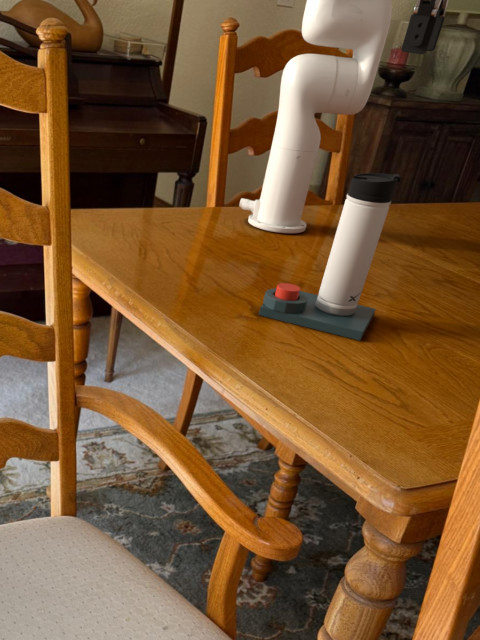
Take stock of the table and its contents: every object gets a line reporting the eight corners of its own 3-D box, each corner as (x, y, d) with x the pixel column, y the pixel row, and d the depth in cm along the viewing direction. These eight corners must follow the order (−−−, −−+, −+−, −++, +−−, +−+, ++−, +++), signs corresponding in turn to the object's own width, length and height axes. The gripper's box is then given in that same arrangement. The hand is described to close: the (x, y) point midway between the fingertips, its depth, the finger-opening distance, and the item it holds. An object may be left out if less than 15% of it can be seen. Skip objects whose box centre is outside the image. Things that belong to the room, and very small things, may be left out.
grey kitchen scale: (256, 315, 114) (261, 296, 113) (276, 293, 123) (281, 276, 121) (359, 341, 109) (366, 322, 107) (373, 317, 118) (379, 299, 116)
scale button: (271, 298, 113) (274, 287, 112) (277, 292, 116) (280, 281, 115) (294, 304, 112) (297, 292, 111) (299, 297, 115) (302, 286, 114)
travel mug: (358, 319, 113) (404, 180, 100) (316, 312, 113) (356, 174, 101) (355, 305, 118) (398, 171, 105) (314, 299, 118) (352, 165, 106)
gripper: (444, -109, 96) (399, 45, 107) (429, -126, 84) (379, 50, 94) (505, -105, 94) (452, 52, 104) (498, -123, 81) (439, 58, 92)
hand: (417, 51), depth 99 cm, fingers open, 9 cm apart
